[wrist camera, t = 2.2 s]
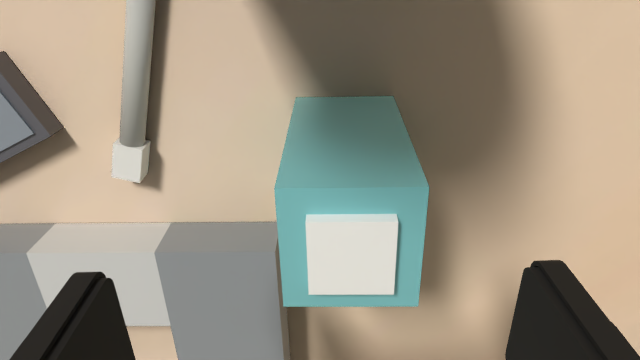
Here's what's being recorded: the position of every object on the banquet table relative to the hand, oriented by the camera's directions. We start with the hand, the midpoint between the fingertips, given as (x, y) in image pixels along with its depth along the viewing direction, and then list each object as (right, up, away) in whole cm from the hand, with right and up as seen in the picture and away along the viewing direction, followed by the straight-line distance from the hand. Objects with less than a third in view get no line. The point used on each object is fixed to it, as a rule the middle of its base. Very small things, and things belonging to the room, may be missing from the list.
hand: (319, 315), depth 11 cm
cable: (-7, +8, +8) cm, 13 cm away
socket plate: (-10, -5, +15) cm, 18 cm away
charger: (+1, +5, +9) cm, 11 cm away
